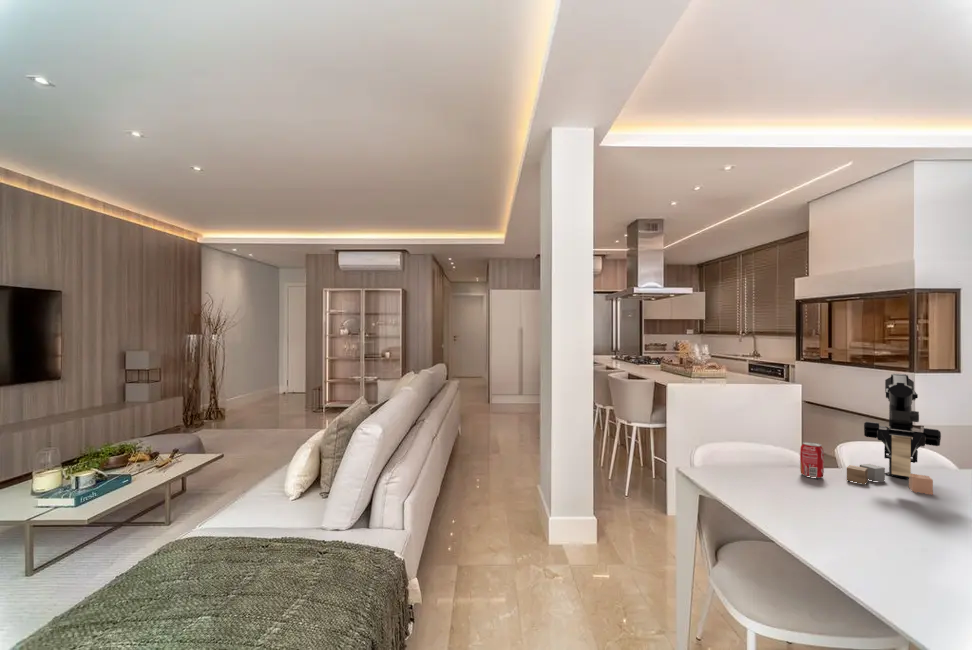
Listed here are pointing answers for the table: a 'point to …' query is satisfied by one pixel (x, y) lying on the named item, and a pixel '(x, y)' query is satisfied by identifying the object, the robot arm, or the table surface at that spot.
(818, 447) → the soda can
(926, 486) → the terracotta block
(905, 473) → the tall oak block
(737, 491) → the table surface
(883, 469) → the slate grey block
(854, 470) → the walnut block
